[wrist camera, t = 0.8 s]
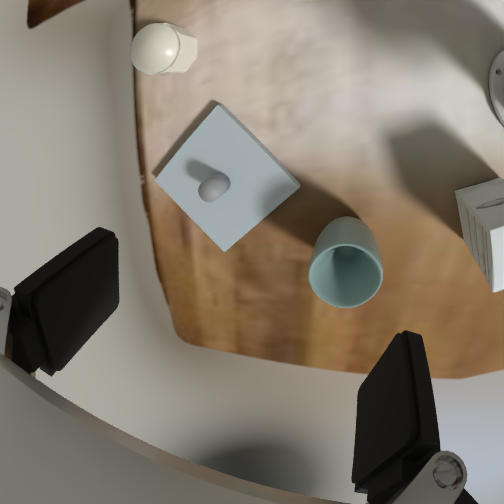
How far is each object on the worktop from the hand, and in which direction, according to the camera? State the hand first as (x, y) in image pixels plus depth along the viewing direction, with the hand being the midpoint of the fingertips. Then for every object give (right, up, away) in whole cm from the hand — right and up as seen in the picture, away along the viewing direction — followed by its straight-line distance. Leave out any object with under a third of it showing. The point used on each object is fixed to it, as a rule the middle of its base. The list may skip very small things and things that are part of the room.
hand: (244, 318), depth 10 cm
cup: (+12, +4, +31) cm, 34 cm away
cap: (-10, +28, +25) cm, 39 cm away
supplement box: (+29, +8, +24) cm, 38 cm away
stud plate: (-3, +11, +32) cm, 34 cm away
